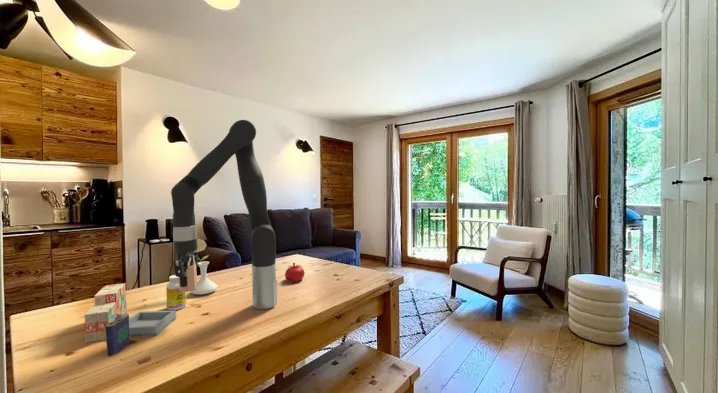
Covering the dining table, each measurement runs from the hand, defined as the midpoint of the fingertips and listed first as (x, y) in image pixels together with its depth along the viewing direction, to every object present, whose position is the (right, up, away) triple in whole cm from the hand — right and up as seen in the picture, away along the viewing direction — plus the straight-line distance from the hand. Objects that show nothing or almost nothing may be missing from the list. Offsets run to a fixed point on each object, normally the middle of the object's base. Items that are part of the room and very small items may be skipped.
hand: (187, 283), depth 115 cm
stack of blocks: (-26, -14, -5) cm, 30 cm away
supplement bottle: (-11, -13, +12) cm, 21 cm away
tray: (-12, -14, -5) cm, 19 cm away
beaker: (0, -2, 0) cm, 2 cm away
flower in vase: (-9, -12, +29) cm, 33 cm away
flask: (-11, -15, -19) cm, 26 cm away
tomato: (+30, -12, +47) cm, 57 cm away
